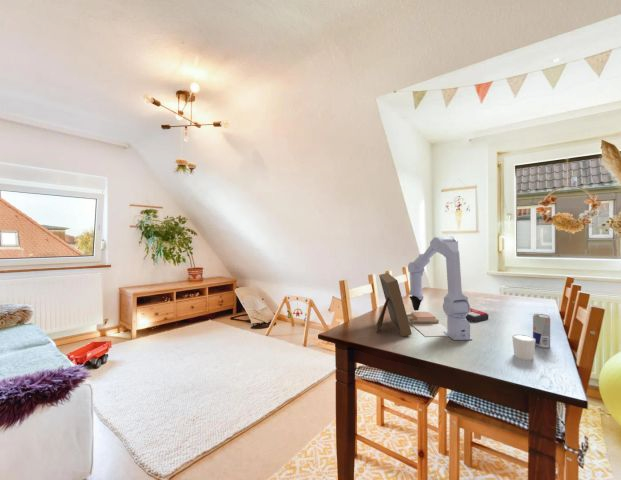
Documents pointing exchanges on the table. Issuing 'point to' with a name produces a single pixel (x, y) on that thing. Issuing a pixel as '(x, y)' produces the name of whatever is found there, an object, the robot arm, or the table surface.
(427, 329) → the mat
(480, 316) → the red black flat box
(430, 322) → the deck
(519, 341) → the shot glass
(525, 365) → the table surface
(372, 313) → the table surface
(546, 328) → the energy drink
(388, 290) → the photo frame
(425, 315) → the tile
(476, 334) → the table surface
